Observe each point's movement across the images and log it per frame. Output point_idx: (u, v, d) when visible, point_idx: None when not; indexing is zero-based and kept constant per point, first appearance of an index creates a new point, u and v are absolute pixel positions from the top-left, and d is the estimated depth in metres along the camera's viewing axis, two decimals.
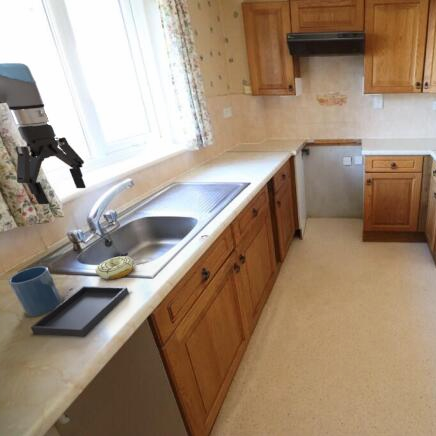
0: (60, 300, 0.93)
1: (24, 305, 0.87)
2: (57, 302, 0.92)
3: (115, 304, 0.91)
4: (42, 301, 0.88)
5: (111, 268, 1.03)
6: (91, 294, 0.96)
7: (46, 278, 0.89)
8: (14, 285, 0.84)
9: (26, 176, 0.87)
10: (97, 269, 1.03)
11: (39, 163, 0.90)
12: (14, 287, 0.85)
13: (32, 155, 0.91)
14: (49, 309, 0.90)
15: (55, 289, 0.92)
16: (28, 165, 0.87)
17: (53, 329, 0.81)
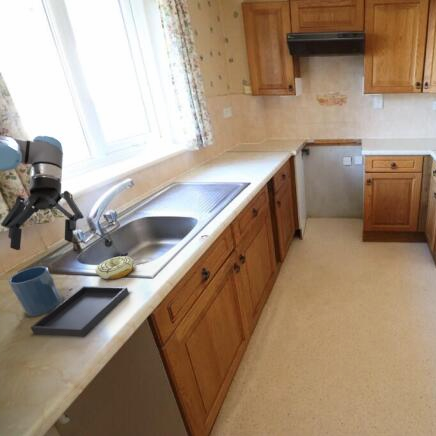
0: (60, 300, 0.93)
1: (24, 305, 0.87)
2: (57, 302, 0.92)
3: (115, 304, 0.91)
4: (42, 301, 0.88)
5: (111, 268, 1.03)
6: (91, 294, 0.96)
7: (46, 278, 0.89)
8: (14, 285, 0.84)
9: None
10: (97, 269, 1.03)
11: None
12: (14, 287, 0.85)
13: None
14: (49, 309, 0.90)
15: (55, 289, 0.92)
16: None
17: (53, 329, 0.81)
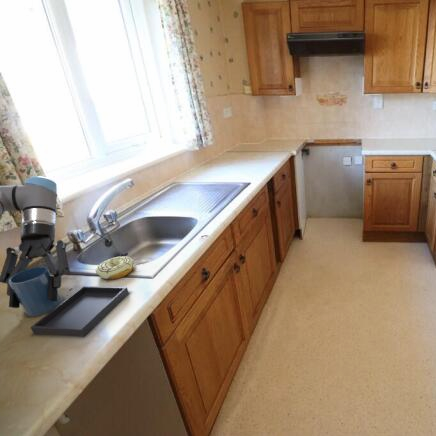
0: (60, 300, 0.93)
1: (24, 305, 0.87)
2: (57, 302, 0.92)
3: (115, 304, 0.91)
4: (42, 301, 0.88)
5: (111, 268, 1.03)
6: (91, 294, 0.96)
7: (46, 278, 0.89)
8: (14, 285, 0.84)
9: None
10: (97, 269, 1.03)
11: None
12: (14, 287, 0.85)
13: None
14: (49, 309, 0.90)
15: None
16: None
17: (53, 329, 0.81)
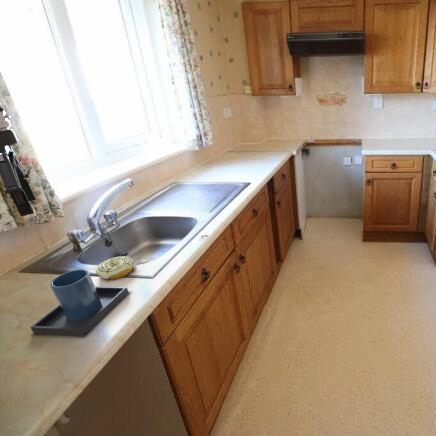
0: (100, 304, 0.90)
1: (66, 309, 0.84)
2: (98, 306, 0.89)
3: (115, 304, 0.91)
4: (84, 305, 0.85)
5: (111, 268, 1.03)
6: None
7: (88, 281, 0.85)
8: (57, 289, 0.81)
9: (17, 183, 0.81)
10: (97, 269, 1.03)
11: (15, 171, 0.83)
12: (56, 291, 0.81)
13: None
14: (90, 313, 0.87)
15: (96, 293, 0.89)
16: (13, 172, 0.81)
17: (53, 329, 0.81)
